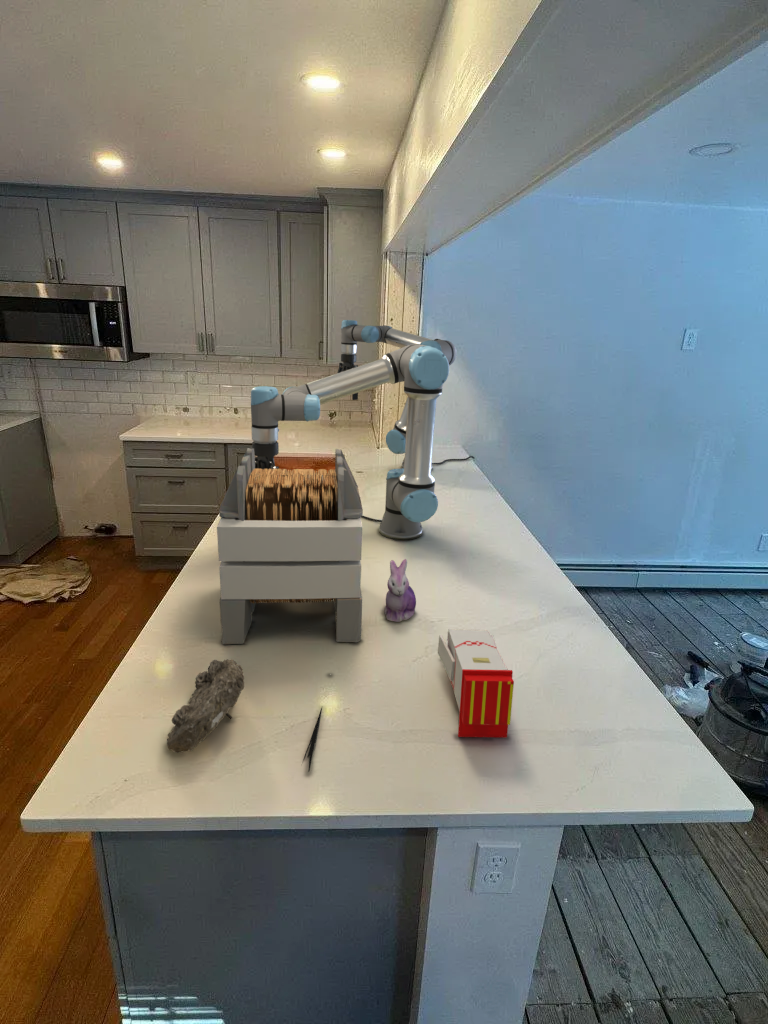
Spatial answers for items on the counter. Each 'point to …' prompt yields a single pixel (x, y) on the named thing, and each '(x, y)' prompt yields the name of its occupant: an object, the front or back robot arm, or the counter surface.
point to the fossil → (206, 705)
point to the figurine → (399, 594)
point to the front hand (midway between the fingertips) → (267, 515)
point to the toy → (478, 682)
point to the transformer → (290, 544)
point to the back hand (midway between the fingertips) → (347, 397)
